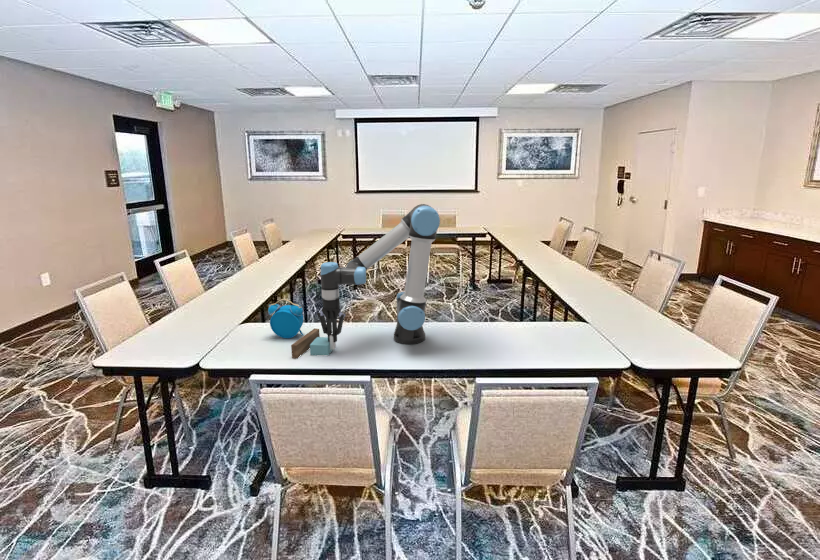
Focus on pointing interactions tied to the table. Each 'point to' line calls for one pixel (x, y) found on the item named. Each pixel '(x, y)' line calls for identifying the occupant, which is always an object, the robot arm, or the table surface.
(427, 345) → the table surface
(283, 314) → the alarm clock
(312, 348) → the block
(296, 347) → the board
